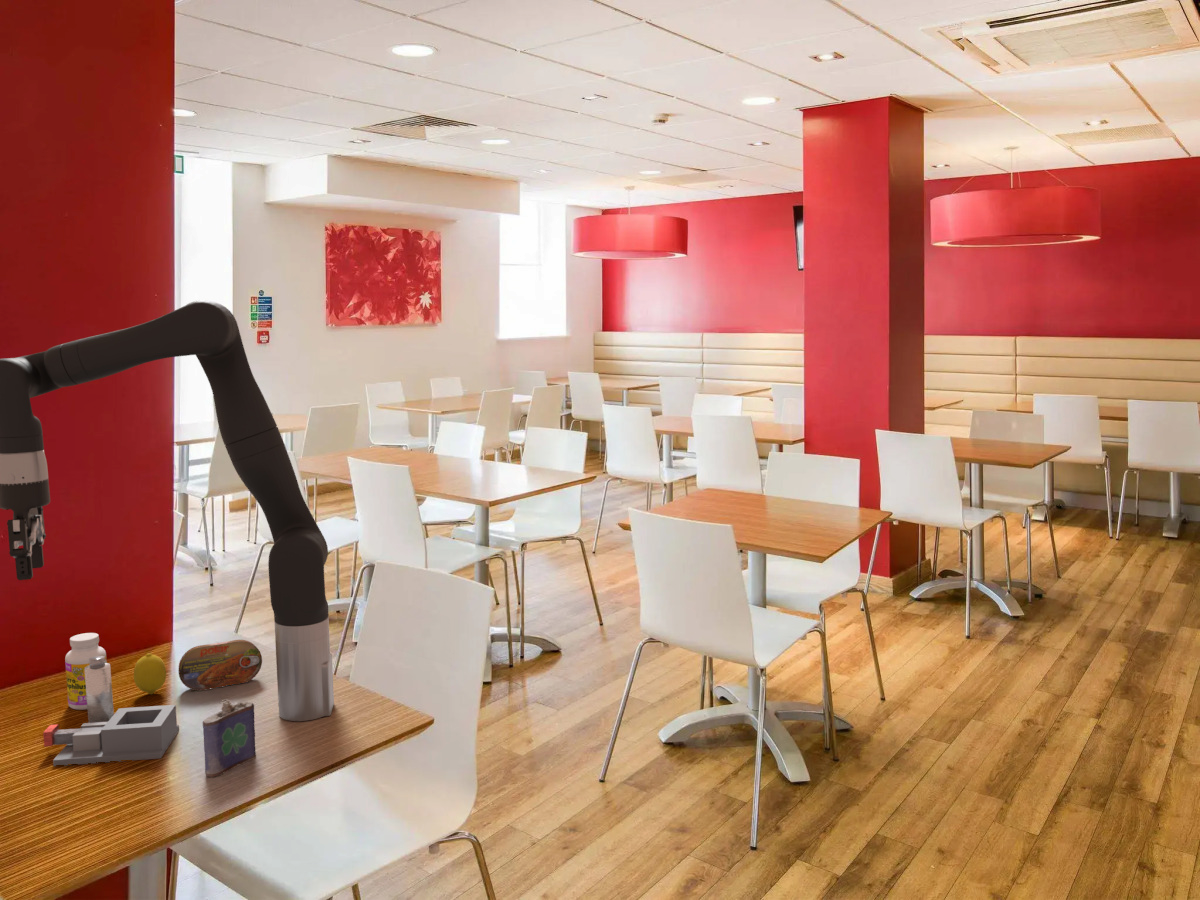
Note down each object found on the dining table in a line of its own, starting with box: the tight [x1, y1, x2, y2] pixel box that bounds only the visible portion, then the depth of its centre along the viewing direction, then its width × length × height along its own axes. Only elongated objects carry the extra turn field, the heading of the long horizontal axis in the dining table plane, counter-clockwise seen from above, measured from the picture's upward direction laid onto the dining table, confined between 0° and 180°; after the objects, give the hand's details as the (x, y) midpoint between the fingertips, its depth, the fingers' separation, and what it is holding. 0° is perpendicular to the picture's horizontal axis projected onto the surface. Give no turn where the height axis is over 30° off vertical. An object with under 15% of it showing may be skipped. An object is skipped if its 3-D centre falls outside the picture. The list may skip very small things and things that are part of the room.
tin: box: [178, 639, 263, 692], centre depth 186 cm, size 15×3×8 cm, turn 117°
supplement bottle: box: [64, 632, 107, 711], centre depth 177 cm, size 7×7×13 cm
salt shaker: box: [85, 656, 115, 723], centre depth 169 cm, size 4×4×12 cm
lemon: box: [133, 652, 167, 695], centre depth 182 cm, size 6×6×8 cm
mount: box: [52, 704, 180, 767], centre depth 159 cm, size 16×11×5 cm
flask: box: [202, 698, 257, 779], centre depth 152 cm, size 9×3×11 cm, turn 151°
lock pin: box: [42, 724, 103, 747], centre depth 157 cm, size 9×3×2 cm, turn 99°
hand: (31, 573), depth 162 cm, fingers open, 8 cm apart
